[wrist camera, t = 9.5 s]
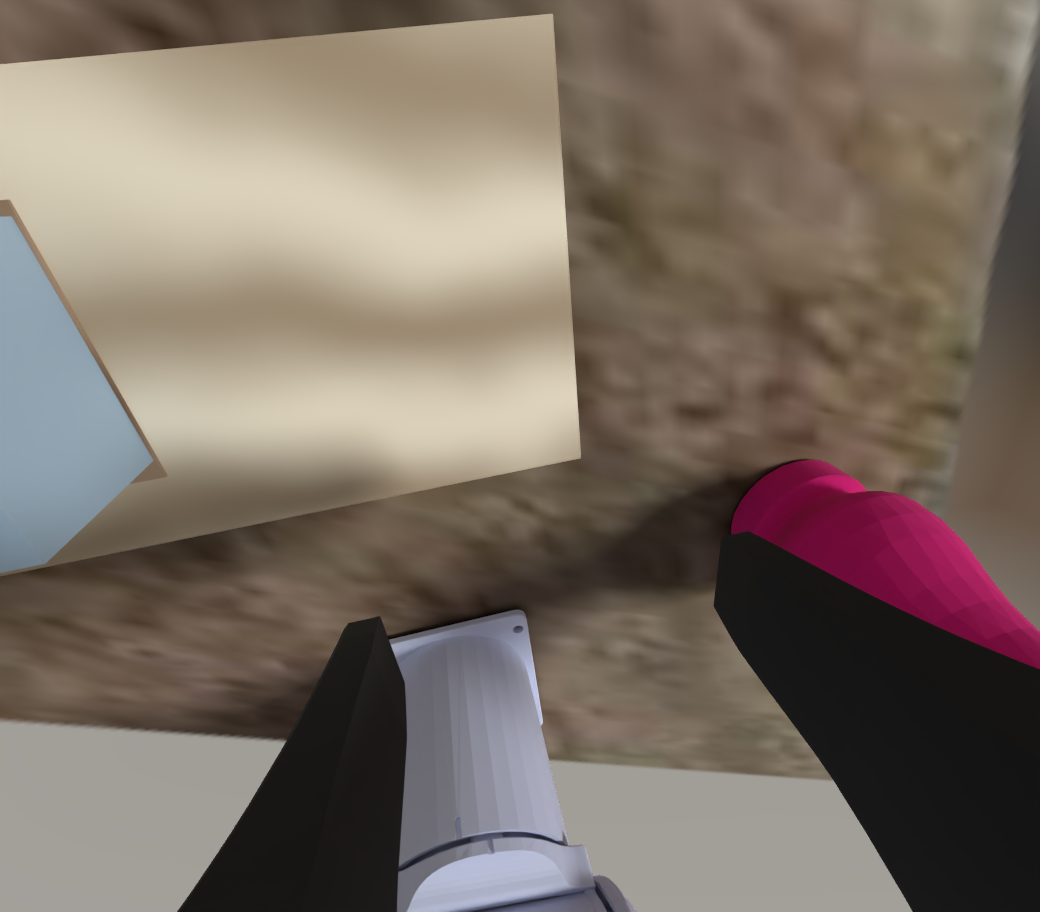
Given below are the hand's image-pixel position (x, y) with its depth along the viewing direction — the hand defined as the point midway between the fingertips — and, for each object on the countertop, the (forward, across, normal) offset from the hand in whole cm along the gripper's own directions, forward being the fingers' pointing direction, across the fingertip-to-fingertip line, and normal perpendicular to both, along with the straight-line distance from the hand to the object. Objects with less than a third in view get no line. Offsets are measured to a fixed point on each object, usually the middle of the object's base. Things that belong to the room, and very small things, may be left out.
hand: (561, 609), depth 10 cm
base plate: (+10, +8, -5) cm, 14 cm away
